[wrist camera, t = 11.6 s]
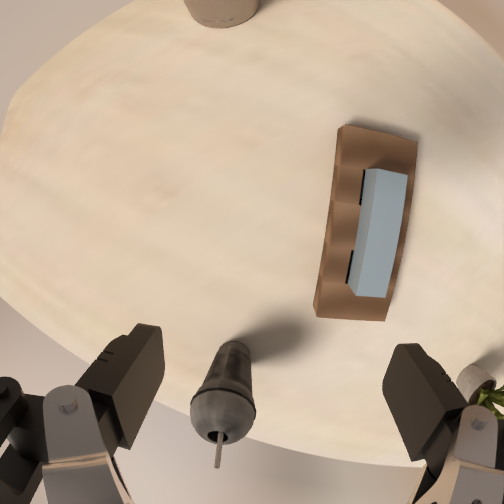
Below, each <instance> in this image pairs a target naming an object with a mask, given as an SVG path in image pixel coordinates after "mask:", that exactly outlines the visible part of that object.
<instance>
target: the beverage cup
mask: <svg viewBox="0 0 504 504" xmlns="http://www.w3.org/2000/svg"><path fill="white" fill-rule="evenodd" d="M190 405H191V408H190V416H191V422H192V425H193V427H194V428H195V430H196V432H197V433H198V434H199V435H200V436H201V437H202V438H203V439H205V440H207V441H209V442H211V443H214V444H217V449H216V458H215V465H214V467H215V468H217V469H218V468H220V461H221V451H222V445H225V444H226V445H227V444H231V443H234V442H237V441H239V440H240V439H242V438H243V437H245V436H246V434H247V433H248V432H249V430H250V429H251V427H252V425H253V422H254V420H255V417H256V408H255V404H254V399H253V397H252V377H251V360H250V353H249V350H248V348H247V347H246V346H245V345H243V344H242V343H239V342H234V341H231V342H226V343H224V344H223V345H222V346H221V347H220V348H219V350H218V352H217V354H216V356H215V358H214V360H213V362H212V365H211V367H210V369H209V371H208V373H207V376H206V378H205V380H204V382H203V384H202V386H201V387H200V388H199V390H198V391H197V393H196V394H195V395H194V396H193V398H192V400H191V402H190Z"/></svg>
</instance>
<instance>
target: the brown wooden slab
mask: <svg viewBox="0 0 504 504" xmlns="http://www.w3.org/2000/svg"><path fill="white" fill-rule="evenodd" d="M417 143H418V142H415V141H412V140H408V139H405V138H401V137H397V136H394V135H390V134H386V133H382V132H378V131H373V130H369V129H364V128H360V127H355V126H350V125H344V126H342V127H341V128H339V129H338V133H337V144H336V154H335V163H334V173H333V181H332V189H331V197H330V205H329V212H328V219H327V226H326V233H325V239H324V246H323V252H322V258H321V264H320V270H319V275H318V281H317V286H316V292H315V297H314V302H313V307H314V310H315V313H316V316H317V317H321V318H334V319H349V320H366V321H385V319H386V316H387V312H388V309H389V305H390V302H391V298H392V294H393V290H394V286H395V282H396V278H397V274H398V270H399V266H400V261H401V257H402V252H403V247H404V242H405V237H406V231H407V226H408V220H409V214H410V207H411V201H412V193H413V185H414V177H415V167H416V156H417ZM366 169H382V170H387V171H391V172H396V173H400V174H405V175H408V177H407V186H406V194H405V201H404V208H403V215H402V221H401V227H400V233H399V238H398V244H397V249H396V254H395V259H394V263H393V268H392V272H391V277H390V281H389V285H388V289H387V293H386V297H385V298H381V297H367V296H356V295H355V294H354V292H353V291H352V289H351V288H350V286H349V285H348V280H349V275H347V271H348V266H349V261H350V255H351V250H354V248H355V243H356V237H357V230H358V224H359V218H360V211H361V204H359V199H360V192H361V184H362V176H363V171H366Z"/></svg>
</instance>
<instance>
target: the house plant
mask: <svg viewBox="0 0 504 504" xmlns="http://www.w3.org/2000/svg"><path fill="white" fill-rule="evenodd" d="M456 383H457V386H458V388H459V390H460V392H461V394H462V395H463V396H464V398H465V399H466V401H467V402H468V404H469V405H470V406H471V405H479V406H483V407H485V408H487V409H489V410H490V411H491V412H492V413H493V414H494V415H495V417H496V419H504V415H503V414H501V413H500V412H499V411H498V410H497V409H496V408H495V407H494V405H493V403H492V402H494V403H496V404H498V405H500V406H502V407H504V391H502V390H504V385H503V386H502V387H501V388H500V389H497V390H495V387H496V380H495V378H493V377H492V376H490V375H489V374H488V373H486V372H485V371H483V370H482V369H480V368H479V367H478V366H476V365H469V366H468V367H466V368H465V369H464V370H463V371H462V372H461V373H460V374H459V376H458V378H457V382H456Z"/></svg>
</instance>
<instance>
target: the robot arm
mask: <svg viewBox="0 0 504 504" xmlns="http://www.w3.org/2000/svg"><path fill="white" fill-rule="evenodd" d="M184 2H185V4H186V6H187V8H188V10H189V12H190V14H191V15H192V17H193V18H194V20H196V21H197V22H198V23H200V24H202V25H204V26H207V27H211V28H227V27H232V26H236V25H238V24H241V23H243V22H245V21H246V20H248V19H249V18H250V17H252V16H253V15H254V13H255V12H256V11H257V9H258V6H259V0H184ZM164 371H165V361H164V350H163V339H162V330H161V328H160V327H159V326H152V325H147V324H141V323H138V324H137V325H136V326H135V327H134V329H133V330H132V331H131V332H130V334H129V335H128V336H127V335H121V336H119V337H118V338H116V339H114V340H112V341H111V342H110V343H109V344H108V345H107V346H106V348H105V349H104V350H103V352H101V354H100V355H99V356H98V357H97V360H95V361H94V362H93V363H92V364H91V366H90V367H89V368H88V369H87V370H86V372H85V373H84V374H83V375H82V377H81V378H80V379H79V380H78V382H77V383H76V384H75V385H74V386H72V385H65V386H60V387H57V388H55V389H53V390H51V391H50V392H49V393H48V394H47V395H46V396H45V397H44V396H36V395H30V394H24V393H23V391H22V389H21V386H20V384H19V383H18V381H16V380H15V379H13V378H11V377H0V447H1V445H2V444H3V442H4V441H5V439H6V438H7V439H8V440H9V442H10V444H9V446H8V447H7V449H6V450H5V452H4V453H3V455H2V456H1V458H0V504H30V502H31V500H32V498H33V496H34V494H35V492H36V490H37V488H38V486H39V484H40V482H41V480H42V478H43V480H44V486H45V490H46V495H47V500H48V504H134V502H133V500H132V498H131V495H130V493H129V491H128V488H127V486H126V484H125V482H124V479H123V477H122V474H121V472H120V469H119V467H118V464H117V462H116V459H115V457H114V453H115V451H116V449H117V447H118V446H119V447H122V448H125V449H128V450H130V449H131V447H132V445H133V442H134V440H135V438H136V436H137V433H138V431H139V429H140V427H141V425H142V423H143V421H144V418H145V416H146V414H147V412H148V410H149V408H150V406H151V403H152V401H153V399H154V397H155V395H156V393H157V391H158V389H159V387H160V384H161V382H162V380H163V377H164ZM382 390H383V395H384V397H385V399H386V402H387V404H388V406H389V408H390V411H391V413H392V415H393V418H394V420H395V422H396V425H397V427H398V430H399V432H400V434H401V437H402V439H403V442H404V444H405V447H406V449H407V451H408V454H409V457H410V459H411V462H413V461H417V460H421V459H425V460H426V462H427V463H426V464H425V465H424V466H423V468H422V470H421V473H420V475H419V478H418V480H417V482H416V485H415V487H414V490H413V492H412V494H411V496H410V499H409V501H408V503H407V504H504V419H496V417H495V415H494V414H493V413H492V412H491V411H490V410H489V409H487V408H485V407H483V406H479V405H471V406H470V405H469V404H468V402H467V401H466V399H465V398H464V396H463V395H462V394H461V392H460V391H459V389H458V388H457V387H456V385H455V384H454V383H453V382H451V379H450V377H449V376H448V374H446V372H445V370H444V369H443V368H442V366H441V365H440V364H439V363H438V362H436V361H435V360H434V359H432V358H431V357H430V356H428V355H427V354H426V352H425V351H424V350H423V348H422V347H421V346H420V345H419V344H418V343H410V344H398V345H397V346H396V347H395V349H394V352H393V355H392V358H391V361H390V363H389V366H388V369H387V371H386V374H385V376H384V379H383V385H382Z"/></svg>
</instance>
